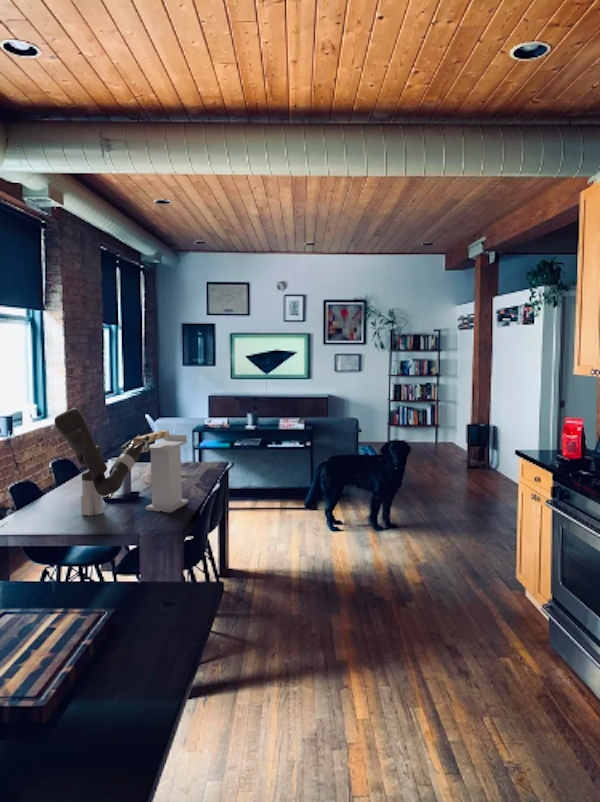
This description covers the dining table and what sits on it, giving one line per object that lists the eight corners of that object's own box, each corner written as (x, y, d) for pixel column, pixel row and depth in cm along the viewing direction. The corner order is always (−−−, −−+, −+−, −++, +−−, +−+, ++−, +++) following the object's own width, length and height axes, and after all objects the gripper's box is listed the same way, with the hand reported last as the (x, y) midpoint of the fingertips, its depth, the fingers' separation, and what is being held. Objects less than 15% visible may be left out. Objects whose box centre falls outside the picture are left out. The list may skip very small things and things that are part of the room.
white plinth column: (168, 513, 294) (166, 442, 290) (143, 511, 298) (141, 440, 294) (190, 501, 315) (188, 435, 311) (166, 499, 319) (164, 433, 315)
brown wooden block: (140, 445, 278) (140, 438, 277) (133, 444, 279) (133, 438, 279) (169, 436, 302) (168, 430, 302) (162, 436, 304) (162, 430, 303)
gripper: (137, 455, 266) (155, 430, 280) (110, 453, 270) (128, 429, 284) (142, 468, 270) (159, 443, 284) (115, 466, 275) (133, 441, 288)
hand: (143, 436), depth 284 cm, fingers closed on brown wooden block, 3 cm apart
